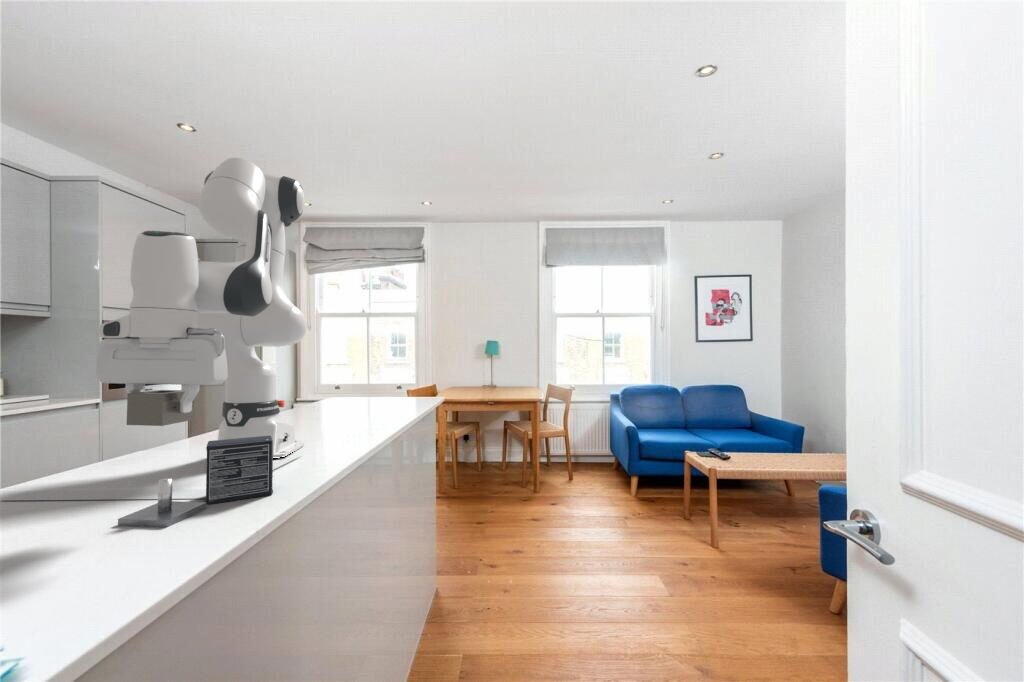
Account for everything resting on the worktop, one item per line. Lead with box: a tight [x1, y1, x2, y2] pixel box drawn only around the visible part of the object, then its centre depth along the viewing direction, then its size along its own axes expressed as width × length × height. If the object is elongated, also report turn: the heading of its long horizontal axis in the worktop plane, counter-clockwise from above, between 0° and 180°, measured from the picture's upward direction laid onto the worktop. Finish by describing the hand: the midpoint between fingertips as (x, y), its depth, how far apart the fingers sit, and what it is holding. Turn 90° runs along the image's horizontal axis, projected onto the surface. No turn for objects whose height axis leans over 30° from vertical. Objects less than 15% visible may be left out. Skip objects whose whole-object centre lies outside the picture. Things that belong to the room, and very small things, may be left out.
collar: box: [126, 389, 195, 427], centre depth 71 cm, size 6×6×5 cm
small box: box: [204, 435, 274, 506], centre depth 81 cm, size 11×6×10 cm, turn 122°
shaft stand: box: [117, 477, 208, 528], centre depth 71 cm, size 8×8×6 cm
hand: (162, 411), depth 71 cm, fingers closed on collar, 6 cm apart
